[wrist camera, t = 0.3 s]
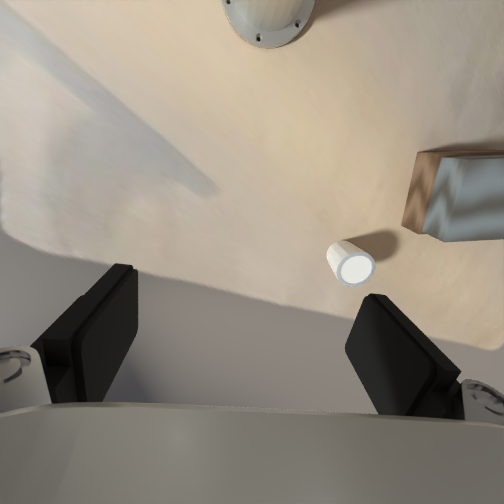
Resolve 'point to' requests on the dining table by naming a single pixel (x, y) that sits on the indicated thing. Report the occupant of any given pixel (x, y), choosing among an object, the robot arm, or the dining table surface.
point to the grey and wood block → (457, 195)
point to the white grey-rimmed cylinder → (350, 263)
